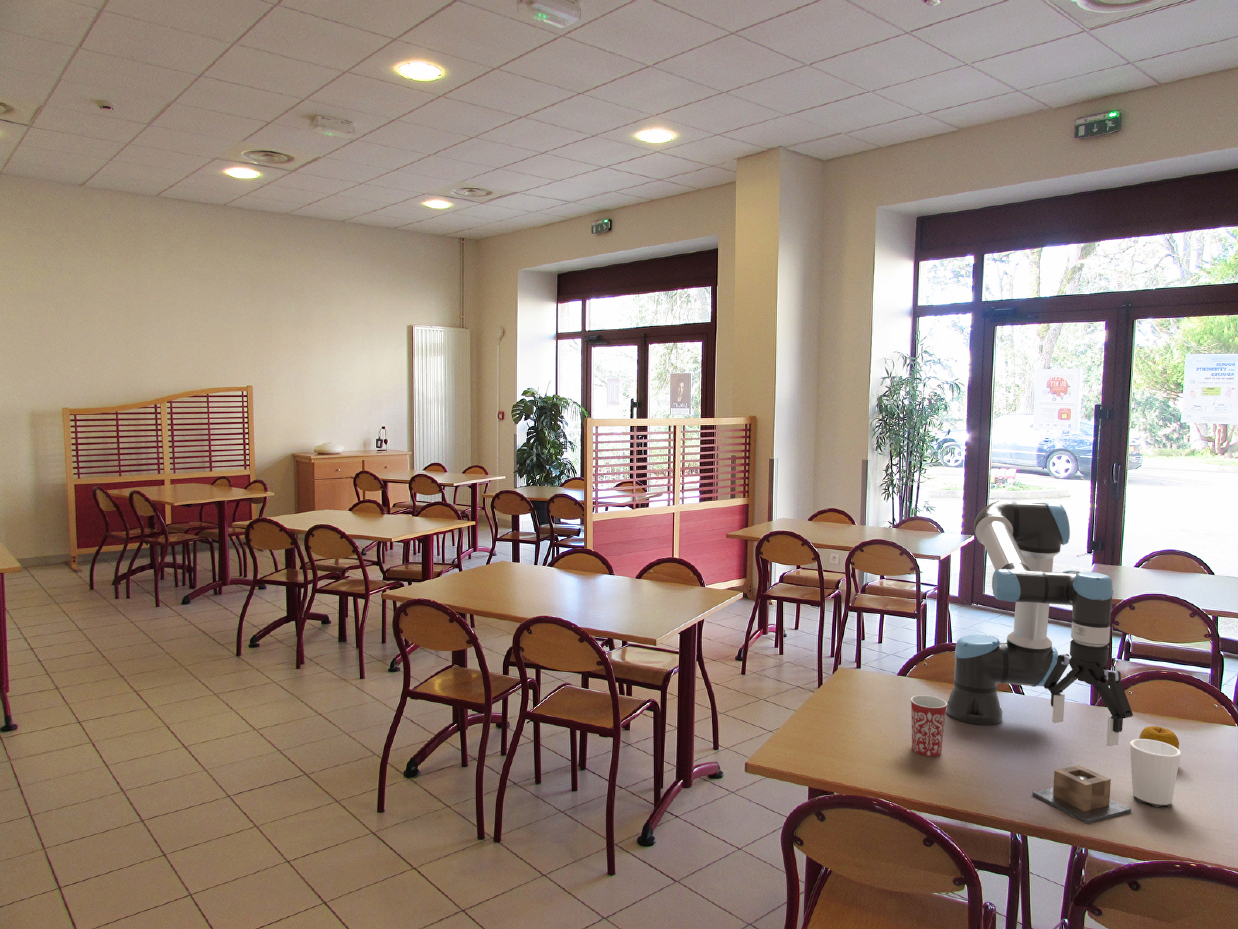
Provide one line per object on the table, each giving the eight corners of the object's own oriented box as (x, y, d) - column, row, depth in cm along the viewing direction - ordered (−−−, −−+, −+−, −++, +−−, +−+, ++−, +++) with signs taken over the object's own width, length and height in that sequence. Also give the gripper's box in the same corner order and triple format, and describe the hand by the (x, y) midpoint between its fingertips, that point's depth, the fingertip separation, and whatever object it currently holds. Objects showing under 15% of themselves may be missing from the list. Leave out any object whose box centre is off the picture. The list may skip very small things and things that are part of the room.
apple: (1141, 764, 207) (1143, 731, 207) (1134, 752, 215) (1136, 719, 215) (1181, 770, 204) (1183, 736, 204) (1172, 757, 212) (1174, 724, 212)
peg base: (1074, 785, 195) (1075, 761, 195) (1131, 812, 182) (1132, 786, 182) (1032, 795, 190) (1033, 770, 189) (1087, 824, 177) (1088, 797, 176)
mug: (947, 760, 208) (949, 708, 208) (910, 756, 211) (912, 705, 210) (940, 741, 221) (942, 692, 220) (905, 737, 223) (907, 689, 222)
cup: (1170, 795, 191) (1173, 742, 190) (1184, 814, 182) (1187, 759, 181) (1121, 788, 194) (1124, 736, 193) (1132, 806, 185) (1136, 752, 184)
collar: (1053, 795, 188) (1054, 770, 188) (1077, 789, 191) (1078, 765, 191) (1084, 811, 181) (1086, 785, 180) (1109, 805, 184) (1110, 779, 183)
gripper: (1030, 628, 193) (1025, 715, 195) (1131, 660, 170) (1125, 758, 172) (1052, 625, 196) (1048, 710, 198) (1155, 656, 173) (1149, 752, 175)
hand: (1084, 733), depth 185 cm, fingers open, 13 cm apart
